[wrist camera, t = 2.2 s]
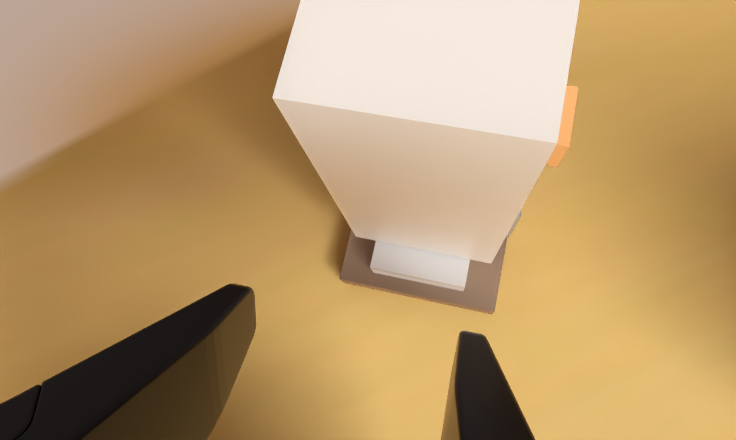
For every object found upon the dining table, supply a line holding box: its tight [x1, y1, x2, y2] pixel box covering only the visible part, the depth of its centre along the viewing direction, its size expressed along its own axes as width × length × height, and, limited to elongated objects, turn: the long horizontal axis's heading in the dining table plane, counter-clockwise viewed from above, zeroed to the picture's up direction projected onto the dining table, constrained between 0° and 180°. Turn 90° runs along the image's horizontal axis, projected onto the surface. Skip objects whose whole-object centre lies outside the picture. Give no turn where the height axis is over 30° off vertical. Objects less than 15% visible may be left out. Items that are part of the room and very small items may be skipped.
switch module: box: [272, 0, 580, 264], centre depth 15 cm, size 4×6×11 cm, turn 77°
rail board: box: [339, 229, 507, 314], centre depth 21 cm, size 9×6×5 cm, turn 167°
